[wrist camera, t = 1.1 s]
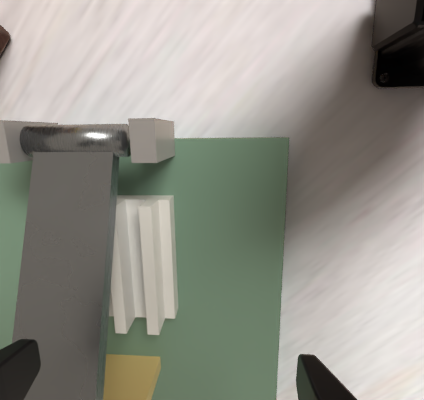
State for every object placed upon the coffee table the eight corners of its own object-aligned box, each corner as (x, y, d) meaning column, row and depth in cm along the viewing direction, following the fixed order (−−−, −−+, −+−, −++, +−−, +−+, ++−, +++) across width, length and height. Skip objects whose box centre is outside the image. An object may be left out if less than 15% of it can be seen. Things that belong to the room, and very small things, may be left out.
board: (286, 120, 18) (309, 116, 12) (273, 397, 23) (285, 479, 17) (-46, 125, 19) (-152, 122, 14) (8, 382, 24) (-55, 453, 19)
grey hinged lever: (133, 131, 15) (119, 115, 13) (112, 470, 13) (92, 509, 11) (43, 132, 15) (16, 117, 14) (7, 461, 13) (-31, 498, 11)
